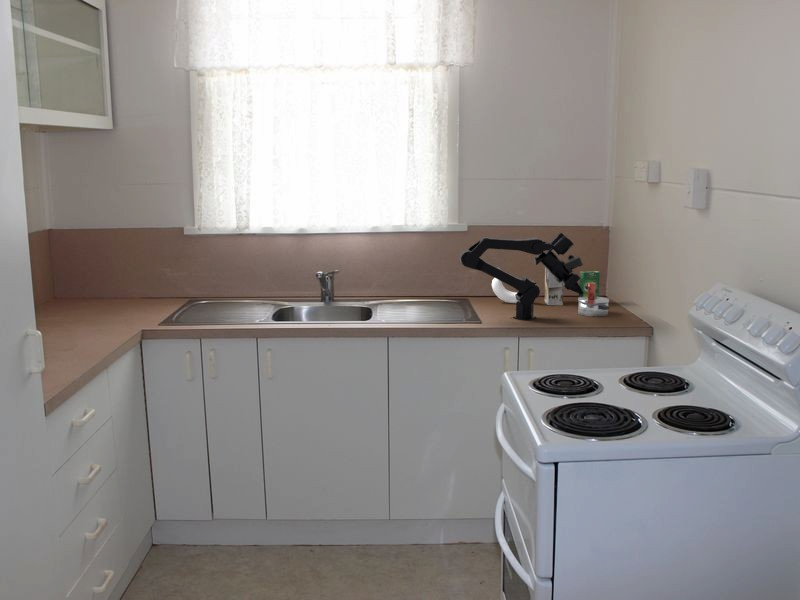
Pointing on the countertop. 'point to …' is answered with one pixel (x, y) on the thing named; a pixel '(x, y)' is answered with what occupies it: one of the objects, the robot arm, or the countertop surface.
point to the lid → (592, 296)
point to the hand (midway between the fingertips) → (582, 293)
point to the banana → (503, 292)
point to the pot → (593, 309)
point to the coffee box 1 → (553, 289)
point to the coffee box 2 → (589, 278)
